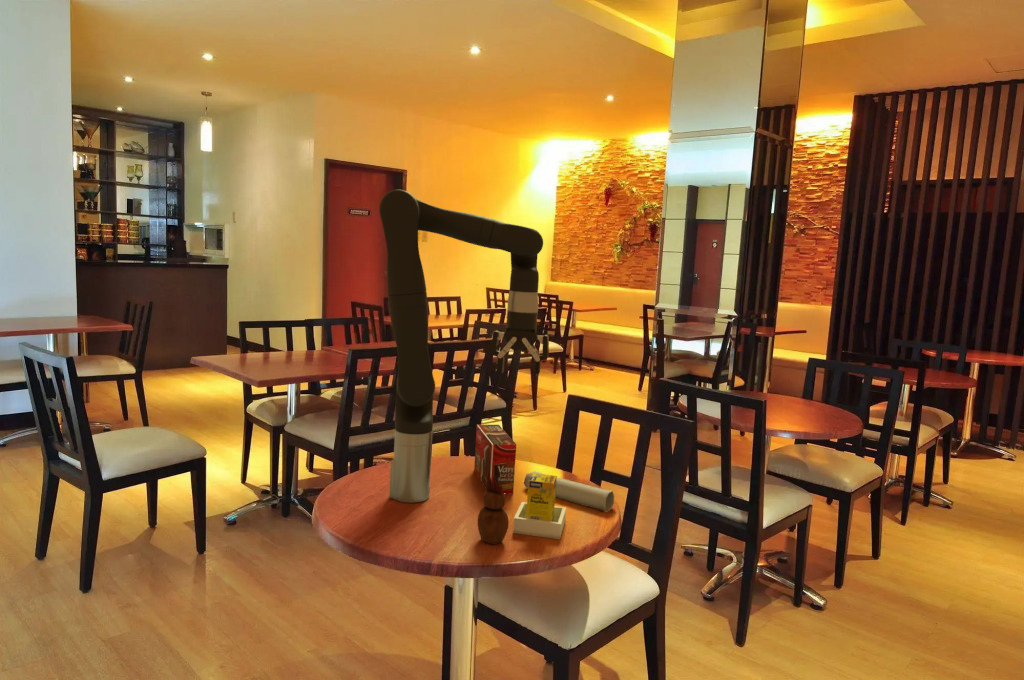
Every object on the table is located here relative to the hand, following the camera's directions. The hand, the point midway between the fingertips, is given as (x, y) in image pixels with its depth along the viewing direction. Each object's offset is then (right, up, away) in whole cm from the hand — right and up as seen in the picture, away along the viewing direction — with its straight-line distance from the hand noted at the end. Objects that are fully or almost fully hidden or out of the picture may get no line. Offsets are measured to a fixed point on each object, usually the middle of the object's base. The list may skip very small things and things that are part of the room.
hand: (518, 374), depth 173 cm
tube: (+12, -33, +6) cm, 36 cm away
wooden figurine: (-6, -35, -23) cm, 42 cm away
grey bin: (+5, -35, -14) cm, 37 cm away
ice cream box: (-7, -30, +16) cm, 35 cm away
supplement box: (+5, -34, -14) cm, 37 cm away
